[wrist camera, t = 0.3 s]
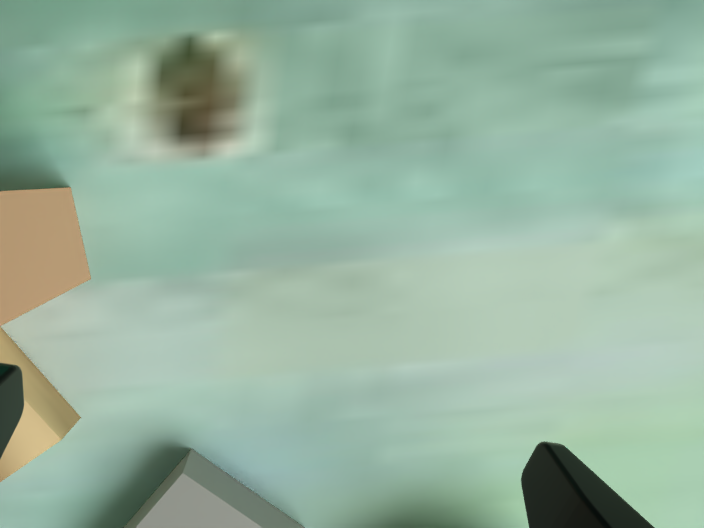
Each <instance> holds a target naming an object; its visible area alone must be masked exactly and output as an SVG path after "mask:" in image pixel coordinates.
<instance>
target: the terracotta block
mask: <svg viewBox="0 0 704 528" xmlns="http://www.w3.org/2000/svg"><path fill="white" fill-rule="evenodd" d="M90 279H91V277H90V272H89V268H88V263H87V259H86V254H85V250H84V245H83V241H82V236H81V232H80V227H79V223H78V218H77V214H76V209H75V205H74V200H73V196H72V191H71V187H69V188H50V189H31V190H12V191H0V326H1V325H3V324H5V323H7V322H9V321H11V320H13V319H15V318H17V317H19V316H21V315H22V314H24V313H26V312H28V311H30V310H32V309H34V308H36V307H38V306H40V305H42V304H44V303H46V302H47V301H49V300H51V299H53V298H55V297H57V296H59V295H61V294H63V293H65V292H67V291H69V290H71V289H72V288H74V287H76V286H78V285H80V284H82V283H84V282H86V281H88V280H90Z"/></svg>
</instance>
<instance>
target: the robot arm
mask: <svg viewBox="0 0 704 528" xmlns="http://www.w3.org/2000/svg"><path fill="white" fill-rule="evenodd" d="M23 409H24V392H23V377H22V370H21V368H20V367H19V366H17V365H13V364H7V363H0V459H1V457H2V455H3V453H4V451H5V449H6V447H7V445H8V443H9V441H10V439H11V437H12V435H13V433H14V431H15V429H16V427H17V425H18V423H19V421H20V418H21V416H22V413H23ZM521 483H522V490H523V496H524V501H525V507H526V512H527V518H528V523H529V528H654V527H653V526H652V525H651V524H650V523H649V522H648V521H647V520H645V519H644V518H643V517H642V516H641V515H640V514H639V513H638V512H637V511H636V510H634V509H633V508H632V507H631V506H630V505H629V504H628V503H627V502H626V501H625V500H623V499H622V498H621V497H620V496H619V495H618V494H617V493H616V492H615V491H614V490H612V489H611V488H610V487H609V486H608V485H607V484H606V483H605V482H604V481H603V480H601V479H600V478H599V477H598V476H597V475H596V474H595V473H594V472H593V471H592V470H590V469H589V468H588V467H587V466H586V465H585V464H584V463H583V462H582V461H581V460H579V459H578V458H577V457H576V456H575V455H574V454H573V453H572V452H571V451H570V450H568V449H567V448H566V447H565V446H564V445H561V444H558V443H551V442H541V443H539V444H538V445H537V446H536V448H535V450H534V452H533V453H532V455H531V457H530V459H529V461H528V463H527V464H526V466H525V468H524V470H523V473H522V478H521Z"/></svg>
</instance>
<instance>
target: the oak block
mask: <svg viewBox="0 0 704 528" xmlns="http://www.w3.org/2000/svg"><path fill="white" fill-rule="evenodd" d="M0 363H7V364H13V365H17V366H19V367H20V368H21V370H22V377H23V392H24V409H23V413H22V416H21V418H20V421H19V423H18V425H17V427H16V429H15V431H14V433H13V435H12V437H11V439H10V441H9V443H8V445H7V447H6V449H5V451H4V453H3V455H2V457H1V459H0V482H1V481H2V480H4V479H5V478H7V477H8V476H10V475H11V474H13V473H14V472H16V471H17V470H18V469H20V468H21V467H23V466H24V465H26V464H27V463H29V462H30V461H31V460H33V459H34V458H36V457H37V456H39V455H40V454H42V453H43V452H44V451H46V450H47V449H49V448H50V447H52V446H53V445H55V444H56V443H58V442H59V441H60V440H62V439H63V437H64V436H65V435H66V434H67V433H68V432H69V431H70V429H71V428H72V427H73V426H74V425H75V424H76V423H77V421H78V420H79V419H80V418H81V417H80V416H79V415H78V414H77V413H76V411H75V410H74V409H73V408H72V407H71V406H70V405H69V404H68V402H67V401H66V400H65V399H64V398H63V397H62V396H61V394H60V393H59V392H58V391H57V390H56V389H55V388H54V387H53V385H52V384H51V383H50V382H49V381H48V380H47V379H46V378H45V376H44V375H43V374H42V373H41V372H40V371H39V370H38V369H37V367H36V366H35V365H34V364H33V363H32V362H31V361H30V359H29V358H28V357H27V356H26V355H25V354H24V353H23V352H22V350H21V349H20V348H19V347H18V346H17V345H16V344H15V343H14V341H13V340H12V339H11V338H10V337H9V336H8V335H7V334H6V332H5V331H4V330H3V329H2V328H1V327H0Z"/></svg>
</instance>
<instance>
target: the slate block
mask: <svg viewBox="0 0 704 528" xmlns="http://www.w3.org/2000/svg"><path fill="white" fill-rule="evenodd" d="M123 528H305V527H303V526H302V525H300V524H299V523H297V522H296V521H295V520H293V519H292V518H290V517H289V516H287V515H286V514H285V513H283V512H282V511H280V510H279V509H277V508H276V507H275V506H273V505H272V504H270V503H269V502H267V501H266V500H265V499H263V498H262V497H260V496H259V495H257V494H256V493H254V492H253V491H252V490H250V489H249V488H247V487H246V486H244V485H243V484H242V483H240V482H239V481H237V480H236V479H234V478H233V477H232V476H230V475H229V474H227V473H226V472H224V471H223V470H222V469H220V468H219V467H217V466H216V465H214V464H213V463H211V462H210V461H209V460H207V459H206V458H204V457H203V456H201V455H200V454H199V453H197V452H196V451H194V450H193V449H191V450H190V451H189V452H188V453H187V454H186V456H185V457H184V458H183V459H182V460H181V461H180V463H179V464H178V465H177V466H176V467H175V468H174V470H173V471H172V472H171V473H170V474H169V475H168V476H167V478H166V479H165V480H164V481H163V482H162V483H161V485H160V486H159V487H158V488H157V489H156V490H155V492H154V493H153V494H152V495H151V496H150V497H149V498H148V500H147V501H146V502H145V503H144V504H143V505H142V507H141V508H140V509H139V510H138V511H137V512H136V514H135V515H134V516H133V517H132V518H131V519H130V520H129V522H128V523H127V524H126V525H125V526H124V527H123Z"/></svg>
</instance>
